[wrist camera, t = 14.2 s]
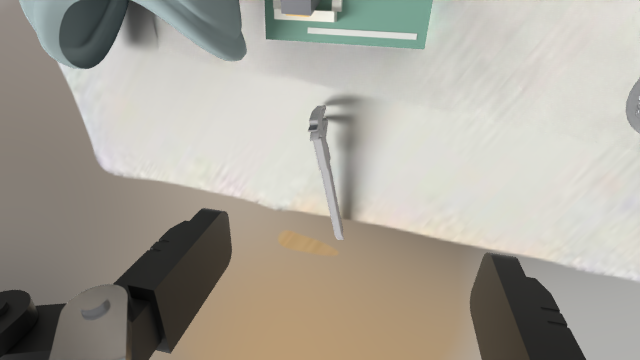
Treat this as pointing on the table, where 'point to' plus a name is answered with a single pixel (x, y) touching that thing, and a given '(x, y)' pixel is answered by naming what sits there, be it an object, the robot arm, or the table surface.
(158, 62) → the table surface
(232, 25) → the pencil case
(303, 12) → the switch
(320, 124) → the caliper
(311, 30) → the board
